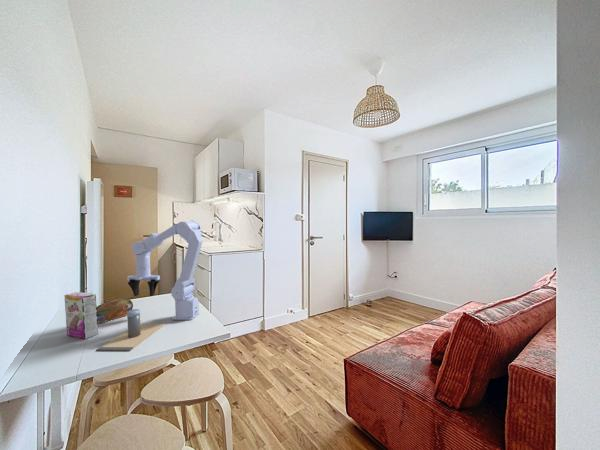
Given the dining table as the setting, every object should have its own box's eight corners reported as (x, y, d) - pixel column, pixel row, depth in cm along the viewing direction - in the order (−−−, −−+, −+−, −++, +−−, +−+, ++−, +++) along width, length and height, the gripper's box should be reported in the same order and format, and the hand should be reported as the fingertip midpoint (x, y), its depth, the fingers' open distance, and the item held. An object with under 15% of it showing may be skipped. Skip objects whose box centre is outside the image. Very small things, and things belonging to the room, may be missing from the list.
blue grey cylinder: (143, 332, 99) (142, 309, 98) (135, 337, 95) (134, 313, 94) (132, 332, 99) (131, 309, 98) (125, 337, 95) (124, 313, 94)
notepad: (165, 324, 107) (165, 323, 107) (129, 350, 86) (129, 349, 86) (138, 324, 108) (138, 323, 108) (96, 350, 87) (96, 349, 87)
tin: (95, 325, 108) (94, 306, 107) (92, 324, 109) (91, 305, 109) (133, 313, 120) (132, 296, 120) (130, 312, 122) (129, 295, 122)
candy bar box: (65, 336, 98) (63, 294, 98) (80, 330, 103) (78, 291, 102) (84, 340, 95) (82, 297, 94) (98, 334, 99) (96, 293, 99)
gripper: (121, 268, 114) (123, 298, 114) (152, 268, 113) (154, 298, 114) (132, 265, 121) (134, 293, 121) (162, 265, 120) (163, 293, 121)
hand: (144, 295), depth 118 cm, fingers open, 7 cm apart
